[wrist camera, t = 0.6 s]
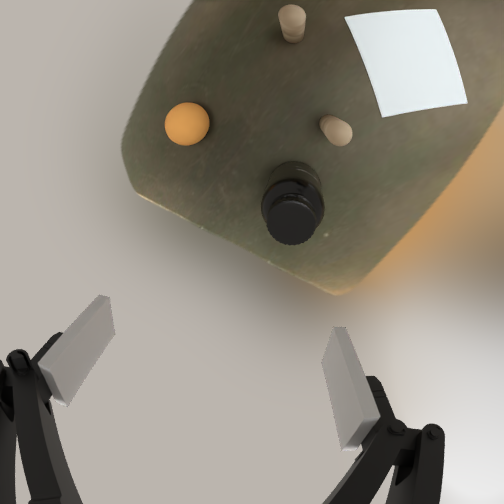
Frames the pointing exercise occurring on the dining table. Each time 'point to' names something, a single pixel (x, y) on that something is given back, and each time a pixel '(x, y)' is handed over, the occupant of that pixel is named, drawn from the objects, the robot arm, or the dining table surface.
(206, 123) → the ball
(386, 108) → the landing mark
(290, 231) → the supplement bottle
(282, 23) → the post
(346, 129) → the post
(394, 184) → the dining table surface
